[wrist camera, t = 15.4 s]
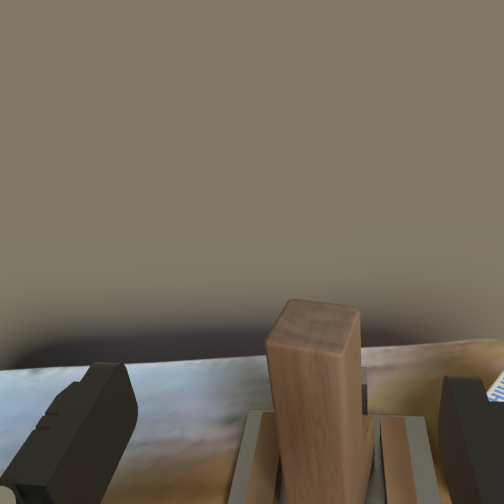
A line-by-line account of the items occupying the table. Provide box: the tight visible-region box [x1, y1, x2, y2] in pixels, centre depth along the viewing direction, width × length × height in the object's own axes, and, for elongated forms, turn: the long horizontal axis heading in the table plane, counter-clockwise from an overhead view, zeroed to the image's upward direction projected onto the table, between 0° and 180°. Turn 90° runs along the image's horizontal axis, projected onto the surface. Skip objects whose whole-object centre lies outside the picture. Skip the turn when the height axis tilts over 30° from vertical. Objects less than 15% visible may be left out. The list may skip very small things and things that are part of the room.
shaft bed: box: [228, 367, 441, 504], centre depth 37 cm, size 16×16×7 cm
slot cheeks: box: [245, 412, 418, 504], centre depth 36 cm, size 12×11×2 cm
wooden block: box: [265, 299, 375, 504], centre depth 32 cm, size 9×4×18 cm, turn 157°
